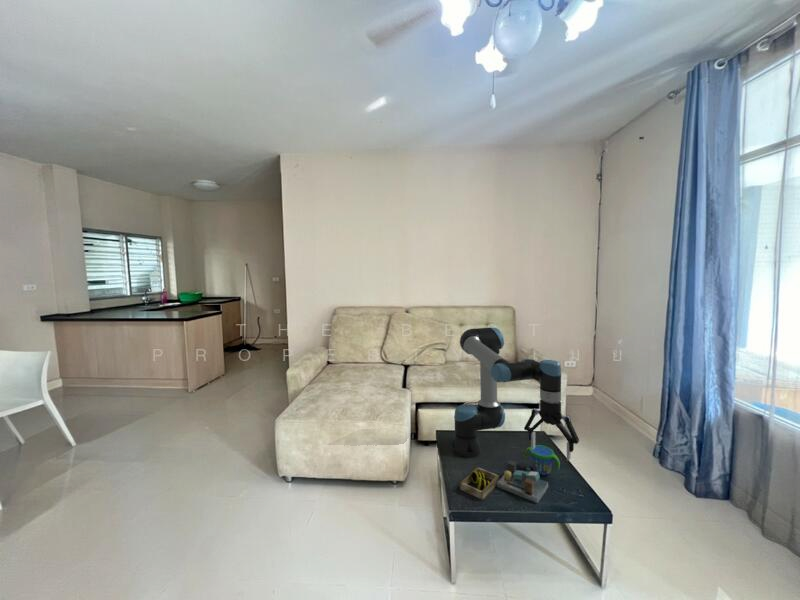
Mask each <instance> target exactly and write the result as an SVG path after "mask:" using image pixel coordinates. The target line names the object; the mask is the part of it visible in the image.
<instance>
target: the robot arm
mask: <svg viewBox="0 0 800 600" xmlns="http://www.w3.org/2000/svg"><path fill="white" fill-rule="evenodd" d="M459 344H460V348H461V350H463V351H464V352H465V353H466V354H467V355H471V356H473V357H474V358H475V359H477V360H478V362H479V367H480V368H479V369H480V370H479V371H480V375H479V377H480V378H479V379H480V399H479V400H478V401H477V406H476V405H475V404H471V403H464V404H460V405H459V406H456V408H455V409H454V417H453V418H454V437H453V440H452V443H451V452H452V453H453V454H454V455H455V456H458V457H461V458H466V459H467V458H469V459H471V458H476V457H478V456H479V455H481V453H482V451H481V449H482V448H481V444H480V441H479V438H478V431H484V430H491V429H494V430H495V429H497V428H500V427H502V426H503V425H504V423H505V420H506V413H505V409H504V407H503V406H502V405H501V403H500V401H498V383H508V382H517V381H518V382H519V381H526V380H527V381H528V380H534V381H536V382H539V398H540V400H539V409H537V408H536V407H534V408H533V409H531V414H530V416H529V419H528V420H527V422H526V424H525V426H524V427H523V428H524V429H523V430H524V431H527V432H528V440H529V441H530V447H531V449H532V450H533V449H534V448H535V445H536V431H535V430H536V429H537V428H538V427H539V426H540V425H541V424H542V423H543V422H544V423H545V424H547V425H548V424H549V425H550V426H551V425H552V426H555V427H557V429H559V431H560V432H561V434H562V435H563V437H564V438H565V440H566V441H567V442H566V461H570V460H571V457H572V455H571V454H572V453H573V451H574V445H578V444H579V442H580V438H579V436H578V434H577V432H576V430H575V428H574V426H573V423H572V421H571V416H570V415H569V414H568V415H562V402H561V401H562V366H561V363H560V362H559V361H558V360H552V359H542V360H541V361H537V360H535V359H532V358H524V359H522V360H521V361H515V362H510V361H508V360H507V359H505V358H504V357H502V356H501V355H500V350H501V349H503V348H504V345H505V339H504V335H503V333H502V332H501V330H500V329H499V328H497V327H477V328H469V329H467V330H465V331H464V332H463V333H462V334H461V336H460V338H459ZM537 415H539V416H540V419H539V420H538V421H537V422H536V423H535V424H534V425H533V426H532V427H531V424H532V423H533V421H534V419H535V417H536V416H537ZM562 420H563V422H564V423H565V426H566V427H567V429H566V427H565V426H564V424H563V422H562Z"/></svg>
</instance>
